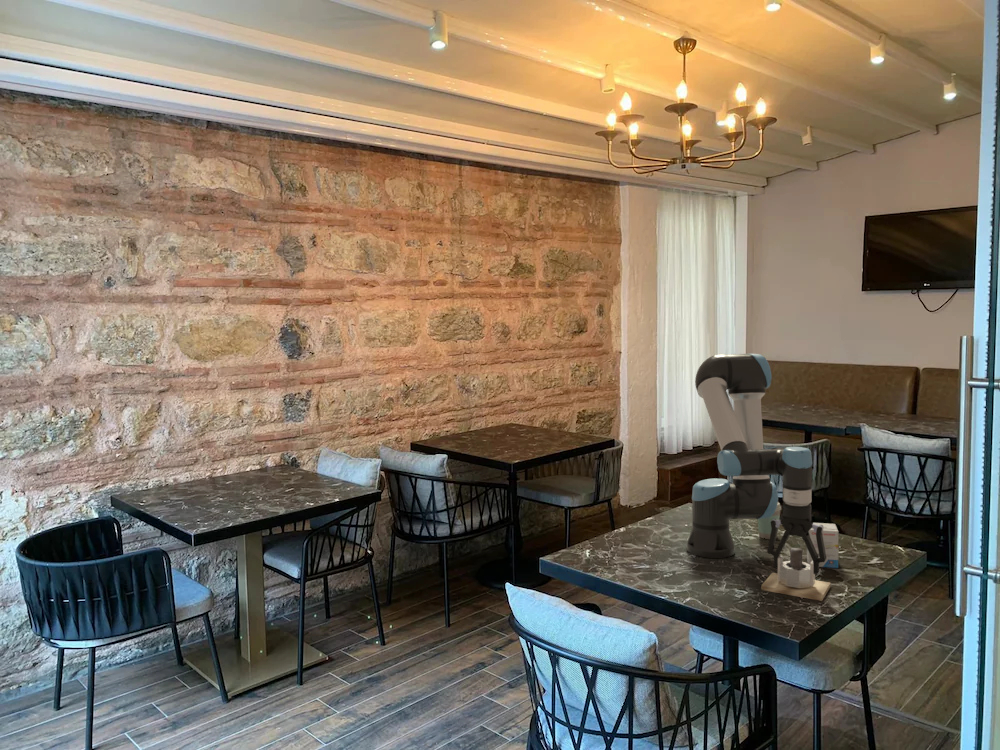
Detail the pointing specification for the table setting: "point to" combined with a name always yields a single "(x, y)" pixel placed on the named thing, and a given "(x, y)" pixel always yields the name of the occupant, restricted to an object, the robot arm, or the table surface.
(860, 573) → the table surface
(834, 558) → the ink box
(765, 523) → the coffee cup
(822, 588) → the post block
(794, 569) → the ring
